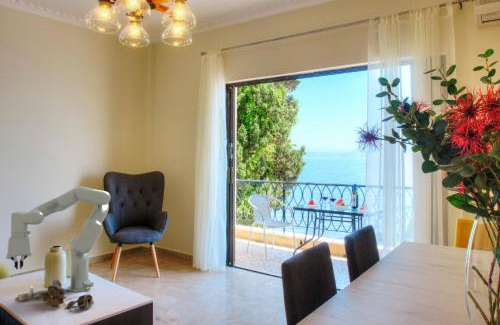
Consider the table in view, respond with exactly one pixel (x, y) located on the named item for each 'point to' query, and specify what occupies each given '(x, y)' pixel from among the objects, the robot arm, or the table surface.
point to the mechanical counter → (82, 302)
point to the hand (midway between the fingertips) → (18, 268)
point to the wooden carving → (54, 295)
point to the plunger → (31, 290)
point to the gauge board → (35, 293)
